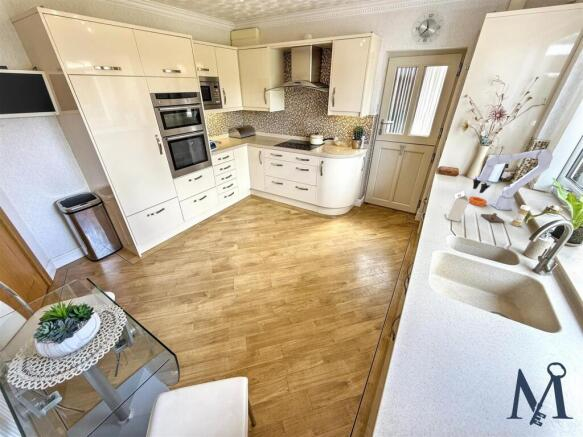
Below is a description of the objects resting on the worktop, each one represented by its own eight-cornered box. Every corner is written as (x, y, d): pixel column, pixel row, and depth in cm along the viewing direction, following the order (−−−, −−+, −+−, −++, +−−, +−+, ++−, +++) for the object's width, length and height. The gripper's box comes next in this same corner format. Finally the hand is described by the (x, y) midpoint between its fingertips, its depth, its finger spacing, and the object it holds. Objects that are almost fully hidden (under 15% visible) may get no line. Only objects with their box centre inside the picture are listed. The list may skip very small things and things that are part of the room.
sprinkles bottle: (520, 225, 150) (532, 206, 143) (518, 227, 147) (530, 208, 141) (512, 222, 153) (523, 203, 146) (509, 224, 151) (520, 205, 144)
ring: (479, 200, 182) (480, 196, 180) (488, 206, 172) (490, 203, 171) (465, 199, 182) (466, 196, 180) (473, 205, 172) (475, 202, 171)
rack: (494, 216, 159) (497, 210, 157) (503, 222, 152) (507, 217, 149) (480, 215, 159) (483, 210, 157) (490, 222, 152) (493, 216, 150)
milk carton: (457, 217, 156) (470, 191, 146) (459, 222, 150) (472, 195, 141) (445, 214, 158) (457, 188, 149) (446, 219, 153) (458, 192, 143)
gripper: (474, 170, 176) (466, 186, 183) (487, 176, 163) (478, 194, 170) (483, 170, 176) (475, 187, 183) (497, 177, 163) (488, 195, 170)
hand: (477, 190), depth 176 cm, fingers open, 7 cm apart
